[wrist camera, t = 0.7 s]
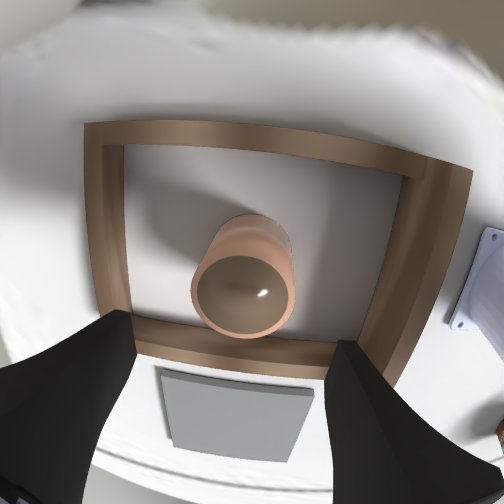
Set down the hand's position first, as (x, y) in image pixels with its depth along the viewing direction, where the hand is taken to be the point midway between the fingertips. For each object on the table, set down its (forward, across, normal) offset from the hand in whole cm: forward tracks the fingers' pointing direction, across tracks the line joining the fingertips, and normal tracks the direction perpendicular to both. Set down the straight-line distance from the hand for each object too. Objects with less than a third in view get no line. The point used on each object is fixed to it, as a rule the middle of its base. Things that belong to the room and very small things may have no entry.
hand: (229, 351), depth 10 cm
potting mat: (+8, 0, +17) cm, 19 cm away
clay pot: (+8, 0, 0) cm, 9 cm away
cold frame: (+8, 0, 0) cm, 9 cm away
